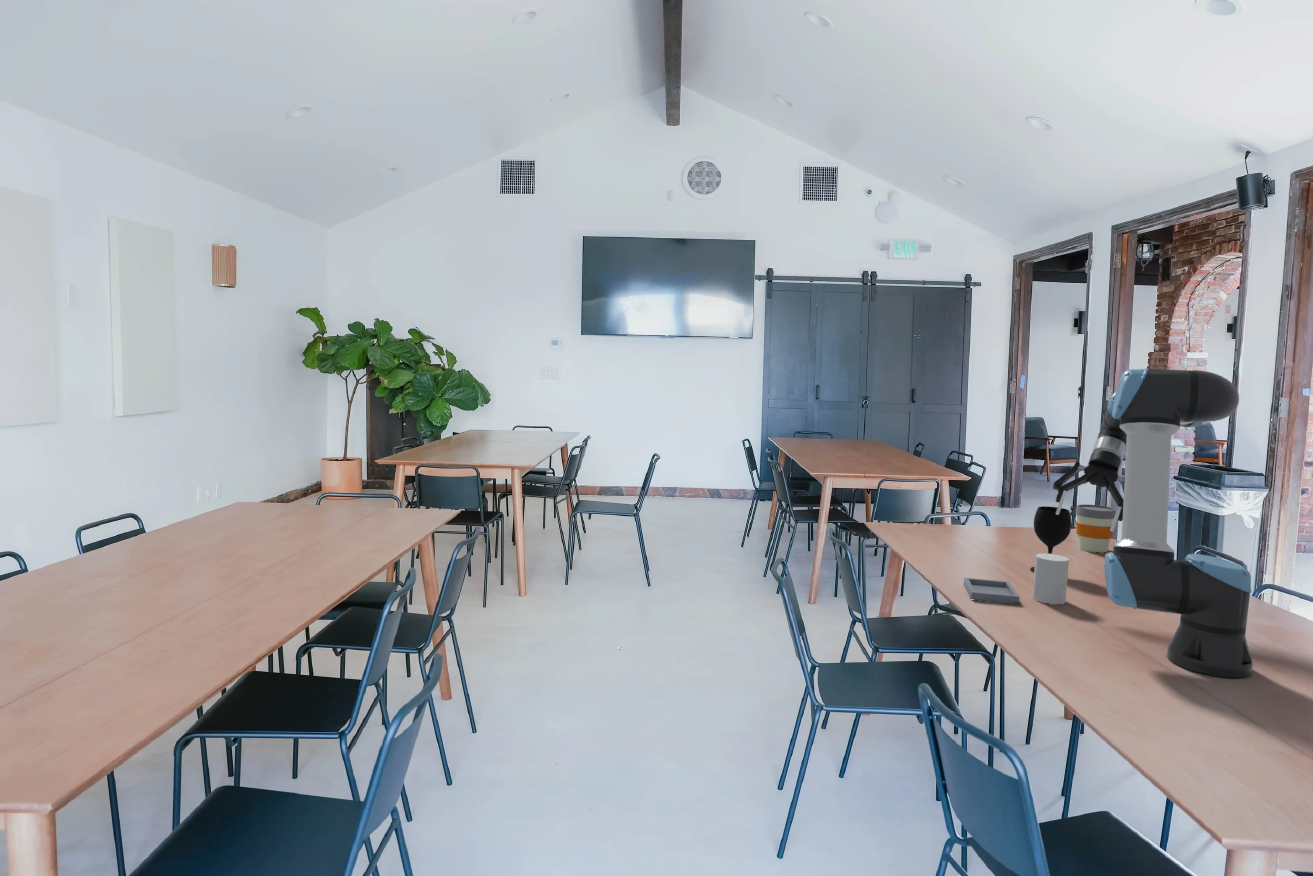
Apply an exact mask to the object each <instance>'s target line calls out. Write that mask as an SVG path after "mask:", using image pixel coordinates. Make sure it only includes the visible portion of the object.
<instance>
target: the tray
mask: <svg viewBox="0 0 1313 876" xmlns="http://www.w3.org/2000/svg"><path fill="white" fill-rule="evenodd" d="M964 586H965V587H964ZM963 587H964V588H966V589H965V591H966V590H967V591H966V592H968V593H967V595H968V594H969V595H968V596H970V597H969V598H971V599H974V600H973V601H975V600H981V601H980V602H985V601H990V602H989V603H996V602H1000V603H999V604H1006V603H1010V604H1009V605H1017V604H1019V605H1020V595H1019V593H1017V591H1016V590H1015V587H1014V586H1013V585H1012V584H1011V582H1010V581H1008V580H997V579H995V580H994V579H987V578H986V579H985V578H984V579H982V578H975V577H974V578H972V577H964V578H963ZM971 599H970V600H971Z"/></svg>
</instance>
